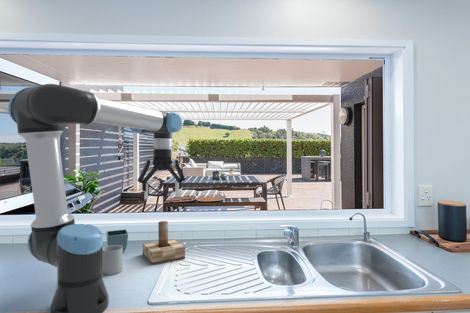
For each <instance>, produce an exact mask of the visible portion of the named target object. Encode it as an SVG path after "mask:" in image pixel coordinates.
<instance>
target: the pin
mask: <svg viewBox="0 0 470 313" xmlns="http://www.w3.org/2000/svg"><path fill="white" fill-rule="evenodd" d="M168 240H169V222H168V220H167V221H166V220H164V221H163V220H161V221H159V222H158V241H159V248H162V247H168Z"/></svg>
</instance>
